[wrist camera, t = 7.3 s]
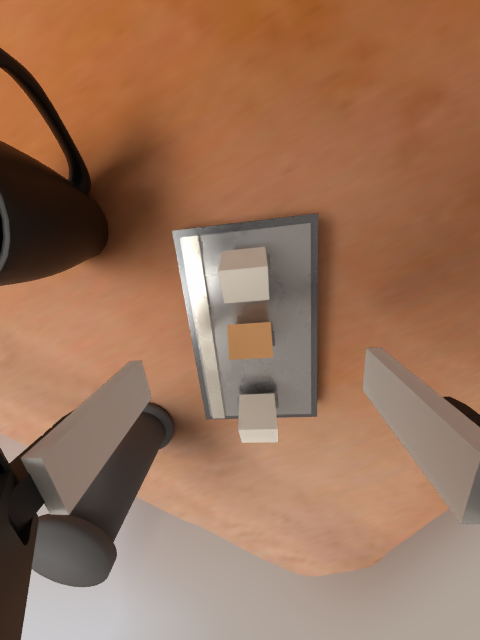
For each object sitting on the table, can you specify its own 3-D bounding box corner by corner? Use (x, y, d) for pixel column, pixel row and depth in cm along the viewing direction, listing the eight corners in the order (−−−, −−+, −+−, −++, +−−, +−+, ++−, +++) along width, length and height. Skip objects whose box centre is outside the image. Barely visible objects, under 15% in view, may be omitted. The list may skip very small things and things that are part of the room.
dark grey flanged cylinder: (115, 402, 26) (1, 526, 14) (168, 400, 25) (92, 529, 14) (129, 445, 28) (38, 584, 16) (178, 444, 27) (120, 589, 15)
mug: (158, 169, 18) (57, 88, 9) (102, 289, 21) (-11, 319, 12) (66, 100, 17) (-155, -70, 8) (23, 238, 20) (-163, 231, 11)
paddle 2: (236, 388, 20) (234, 430, 17) (277, 387, 19) (281, 429, 17) (239, 402, 21) (238, 442, 18) (277, 401, 21) (281, 442, 18)
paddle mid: (230, 327, 19) (222, 325, 15) (273, 324, 18) (275, 321, 15) (232, 355, 19) (224, 360, 15) (275, 352, 18) (277, 357, 15)
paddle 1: (219, 248, 16) (212, 271, 13) (268, 242, 16) (272, 265, 13) (224, 277, 18) (220, 303, 15) (270, 273, 17) (273, 299, 14)
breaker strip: (181, 232, 19) (169, 230, 16) (311, 217, 18) (320, 212, 15) (210, 404, 25) (204, 423, 22) (311, 401, 23) (318, 421, 21)
